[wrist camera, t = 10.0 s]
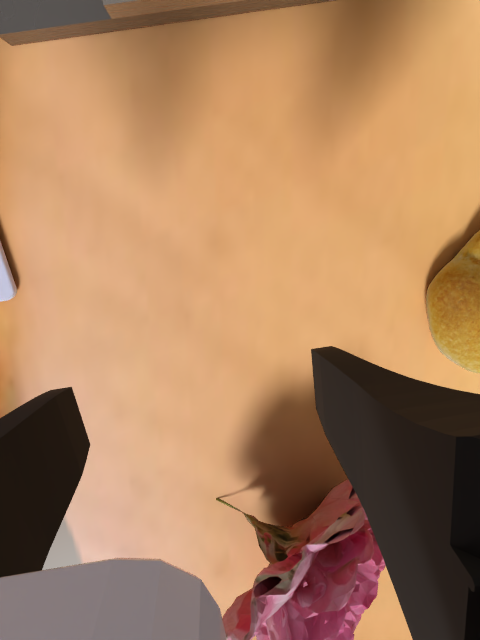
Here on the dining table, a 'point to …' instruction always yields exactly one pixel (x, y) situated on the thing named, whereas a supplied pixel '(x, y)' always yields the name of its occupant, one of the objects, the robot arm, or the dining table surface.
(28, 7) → the grey plate with knobs
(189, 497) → the dining table surface
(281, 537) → the flower
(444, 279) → the bread roll
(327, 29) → the dining table surface
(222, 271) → the dining table surface
